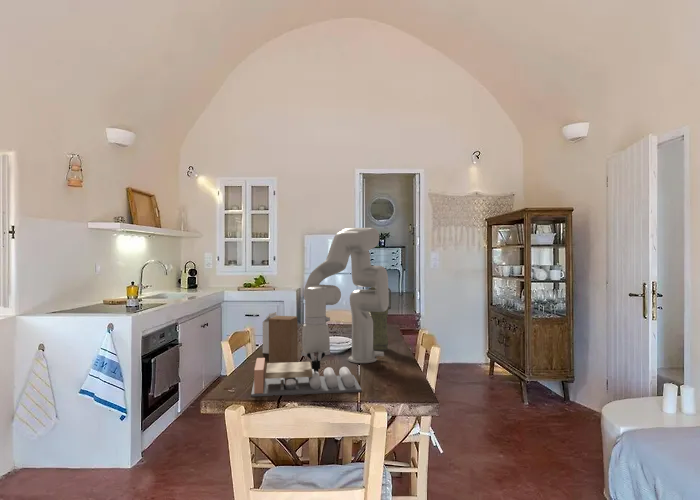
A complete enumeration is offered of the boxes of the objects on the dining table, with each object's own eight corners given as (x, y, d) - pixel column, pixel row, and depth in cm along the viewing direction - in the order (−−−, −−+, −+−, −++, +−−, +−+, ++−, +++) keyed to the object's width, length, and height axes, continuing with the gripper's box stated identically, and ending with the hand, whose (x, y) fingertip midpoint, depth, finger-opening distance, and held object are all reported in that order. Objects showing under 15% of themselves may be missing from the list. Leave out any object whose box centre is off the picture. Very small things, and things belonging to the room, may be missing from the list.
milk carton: (282, 351, 233) (282, 312, 233) (275, 354, 226) (275, 314, 226) (269, 350, 235) (269, 311, 235) (262, 353, 228) (262, 313, 228)
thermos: (367, 347, 243) (367, 277, 242) (390, 347, 242) (390, 278, 242) (366, 350, 234) (366, 279, 234) (391, 351, 233) (390, 279, 233)
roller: (294, 379, 181) (295, 369, 181) (295, 390, 168) (297, 379, 168) (283, 378, 181) (285, 368, 181) (283, 389, 167) (285, 378, 167)
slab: (309, 366, 182) (309, 361, 182) (312, 376, 168) (312, 371, 168) (267, 368, 180) (267, 363, 180) (266, 378, 166) (266, 372, 166)
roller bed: (353, 377, 187) (353, 354, 187) (361, 391, 168) (361, 366, 168) (254, 381, 182) (254, 357, 182) (251, 396, 163) (251, 370, 163)
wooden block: (290, 366, 204) (290, 319, 203) (268, 365, 206) (268, 318, 205) (297, 361, 213) (297, 316, 213) (276, 360, 215) (276, 315, 215)
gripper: (334, 318, 180) (335, 367, 180) (294, 319, 178) (295, 369, 178) (337, 322, 173) (337, 372, 173) (295, 323, 170) (295, 374, 171)
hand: (316, 370), depth 175 cm, fingers closed
